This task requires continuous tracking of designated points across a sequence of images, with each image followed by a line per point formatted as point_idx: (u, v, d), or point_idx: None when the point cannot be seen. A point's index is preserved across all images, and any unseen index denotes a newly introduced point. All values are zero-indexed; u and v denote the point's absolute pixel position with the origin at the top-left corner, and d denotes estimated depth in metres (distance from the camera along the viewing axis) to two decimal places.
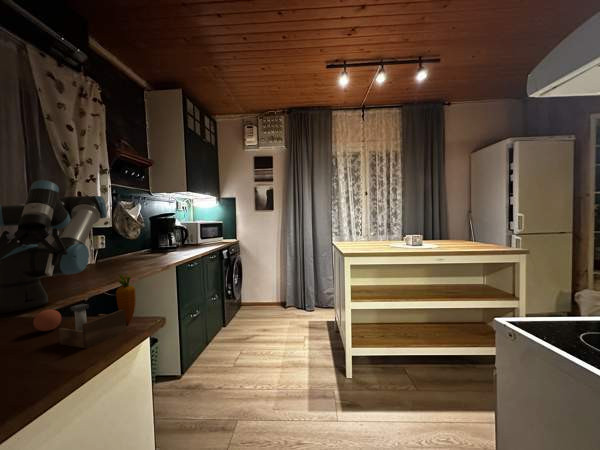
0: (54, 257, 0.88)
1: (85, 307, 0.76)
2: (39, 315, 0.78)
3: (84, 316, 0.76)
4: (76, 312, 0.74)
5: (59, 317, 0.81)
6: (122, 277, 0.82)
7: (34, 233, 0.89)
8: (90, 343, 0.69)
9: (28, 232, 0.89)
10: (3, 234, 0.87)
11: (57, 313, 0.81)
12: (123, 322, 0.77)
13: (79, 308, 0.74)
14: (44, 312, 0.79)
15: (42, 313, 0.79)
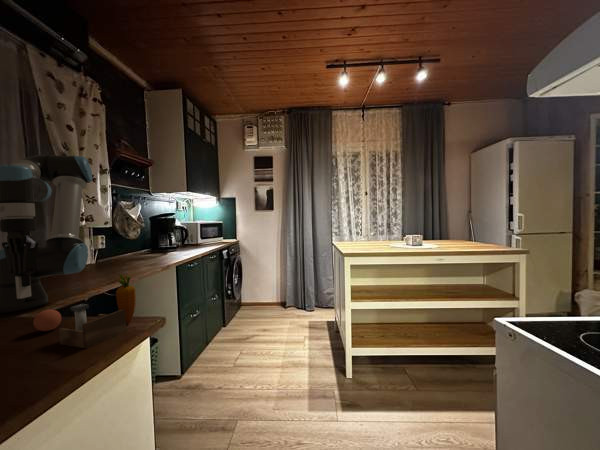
0: (22, 279, 0.81)
1: (85, 307, 0.76)
2: (39, 315, 0.78)
3: (84, 316, 0.76)
4: (76, 312, 0.74)
5: (59, 317, 0.81)
6: (122, 277, 0.82)
7: (13, 242, 0.80)
8: (90, 343, 0.69)
9: (12, 232, 0.81)
10: (3, 247, 0.83)
11: (57, 313, 0.81)
12: (123, 322, 0.77)
13: (79, 308, 0.74)
14: (44, 312, 0.79)
15: (42, 313, 0.79)
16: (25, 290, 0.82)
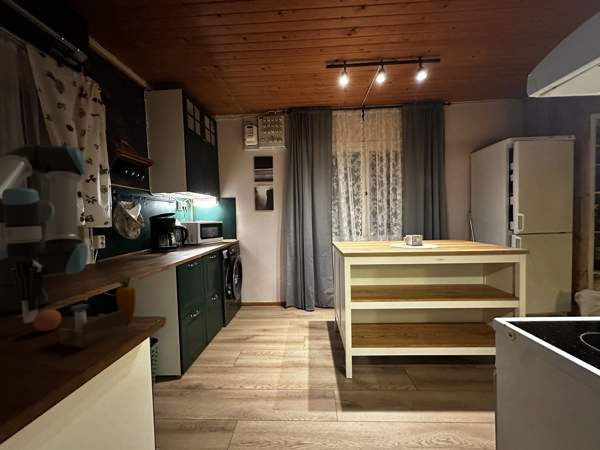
0: (29, 303, 0.81)
1: (85, 307, 0.76)
2: (39, 315, 0.78)
3: (84, 316, 0.76)
4: (76, 312, 0.74)
5: (59, 317, 0.81)
6: (122, 277, 0.82)
7: (20, 266, 0.79)
8: (90, 343, 0.69)
9: (18, 256, 0.81)
10: (10, 270, 0.82)
11: (57, 313, 0.81)
12: (123, 322, 0.77)
13: (79, 308, 0.74)
14: (44, 312, 0.79)
15: (42, 313, 0.79)
16: (32, 314, 0.82)
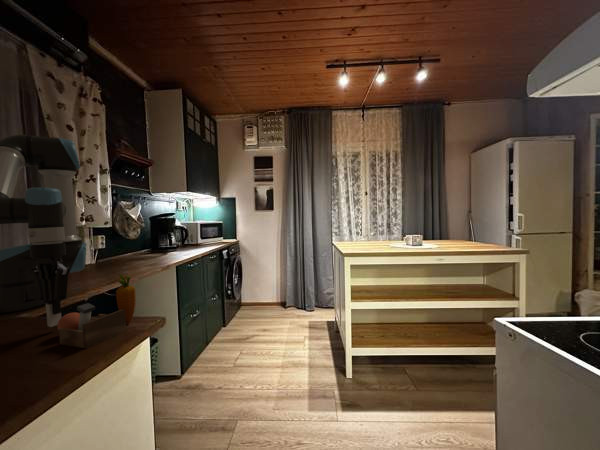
0: (53, 307, 0.78)
1: (91, 309, 0.75)
2: None
3: (89, 317, 0.75)
4: (82, 313, 0.74)
5: None
6: (122, 277, 0.82)
7: (44, 268, 0.76)
8: (90, 343, 0.69)
9: (42, 258, 0.78)
10: (33, 272, 0.79)
11: None
12: (123, 322, 0.77)
13: (86, 310, 0.73)
14: None
15: None
16: (56, 317, 0.79)
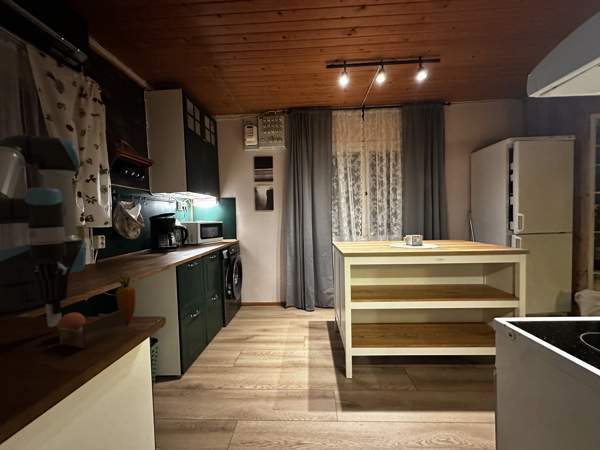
0: (53, 307, 0.78)
1: None
2: None
3: None
4: None
5: None
6: (122, 277, 0.82)
7: (44, 269, 0.76)
8: (90, 343, 0.69)
9: (42, 258, 0.78)
10: (33, 272, 0.79)
11: None
12: (123, 322, 0.77)
13: None
14: None
15: None
16: (56, 317, 0.79)
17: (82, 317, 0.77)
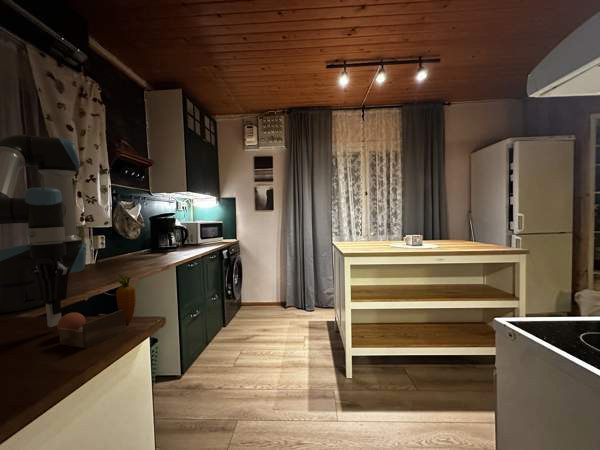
0: (53, 307, 0.78)
1: None
2: None
3: None
4: None
5: None
6: (122, 277, 0.82)
7: (44, 269, 0.76)
8: (90, 343, 0.69)
9: (42, 258, 0.78)
10: (33, 272, 0.79)
11: None
12: (123, 322, 0.77)
13: None
14: None
15: None
16: (56, 317, 0.79)
17: (82, 317, 0.77)
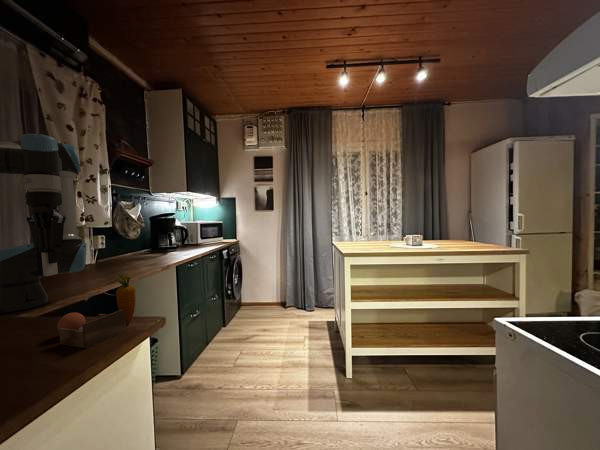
0: (49, 256, 0.77)
1: None
2: None
3: None
4: None
5: None
6: (122, 277, 0.82)
7: (40, 216, 0.76)
8: (90, 343, 0.69)
9: (37, 206, 0.77)
10: (28, 222, 0.79)
11: None
12: (123, 322, 0.77)
13: None
14: None
15: None
16: (52, 267, 0.78)
17: (82, 317, 0.77)
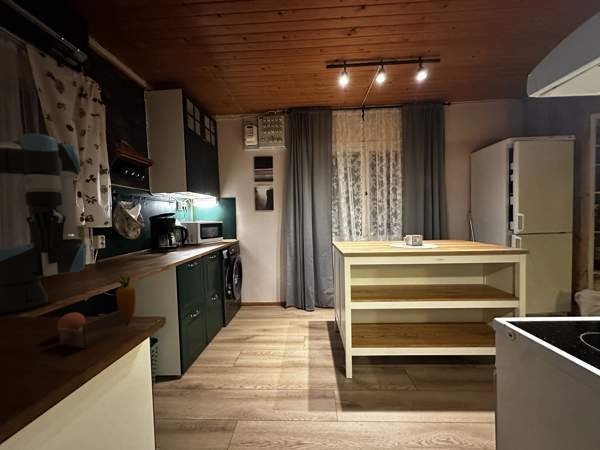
0: (49, 256, 0.77)
1: None
2: None
3: None
4: None
5: None
6: (122, 277, 0.82)
7: (40, 216, 0.76)
8: (90, 343, 0.69)
9: (37, 206, 0.77)
10: (28, 222, 0.79)
11: None
12: (123, 322, 0.77)
13: None
14: None
15: None
16: (52, 267, 0.78)
17: (82, 317, 0.77)
